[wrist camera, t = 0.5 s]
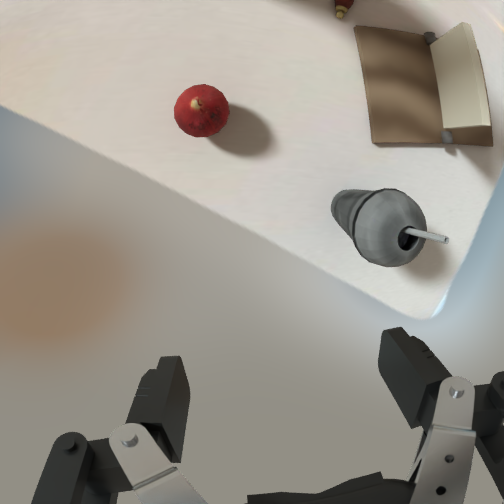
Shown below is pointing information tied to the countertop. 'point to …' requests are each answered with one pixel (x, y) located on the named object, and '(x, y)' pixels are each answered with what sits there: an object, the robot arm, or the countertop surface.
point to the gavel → (342, 7)
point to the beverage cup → (383, 225)
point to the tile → (460, 79)
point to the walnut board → (407, 90)
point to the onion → (201, 110)
